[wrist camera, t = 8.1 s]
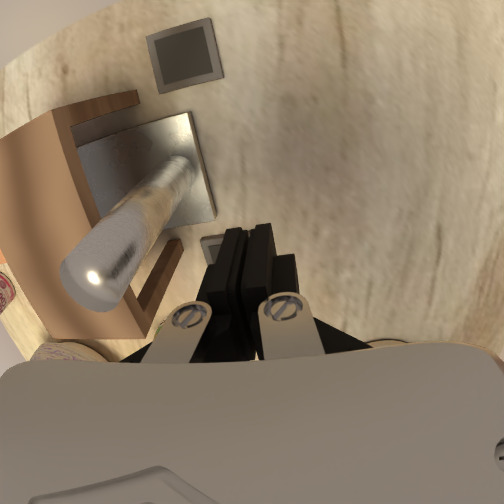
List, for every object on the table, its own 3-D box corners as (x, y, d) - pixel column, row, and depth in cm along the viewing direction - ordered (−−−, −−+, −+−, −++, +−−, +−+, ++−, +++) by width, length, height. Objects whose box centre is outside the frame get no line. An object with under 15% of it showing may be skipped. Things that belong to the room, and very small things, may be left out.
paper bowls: (59, 309, 35) (30, 352, 29) (150, 373, 40) (135, 420, 33) (37, 351, 42) (16, 387, 35) (110, 401, 47) (96, 438, 40)
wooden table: (210, 18, 19) (161, -20, 9) (266, 276, 30) (261, 372, 21) (-29, 135, 23) (-100, 172, 14) (41, 298, 35) (-3, 359, 25)
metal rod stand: (190, 111, 22) (83, 171, 9) (216, 215, 27) (166, 357, 14) (-3, 183, 26) (-99, 257, 13) (26, 252, 30) (-51, 340, 18)
